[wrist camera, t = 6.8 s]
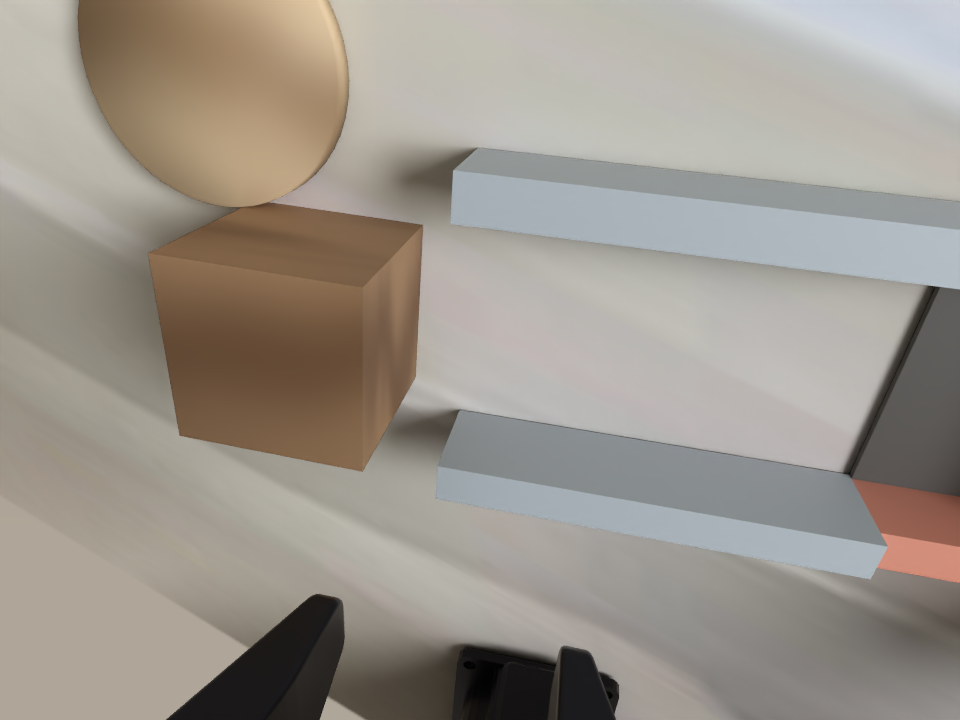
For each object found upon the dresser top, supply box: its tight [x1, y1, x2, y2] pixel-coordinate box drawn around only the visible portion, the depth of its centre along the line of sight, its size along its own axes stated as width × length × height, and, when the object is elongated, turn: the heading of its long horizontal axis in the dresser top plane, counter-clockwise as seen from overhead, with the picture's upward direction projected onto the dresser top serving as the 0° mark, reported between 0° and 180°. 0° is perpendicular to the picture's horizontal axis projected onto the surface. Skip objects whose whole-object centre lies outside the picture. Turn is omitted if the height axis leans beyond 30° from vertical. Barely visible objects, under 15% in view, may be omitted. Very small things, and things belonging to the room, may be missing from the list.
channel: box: [436, 148, 960, 579], centre depth 16 cm, size 9×12×3 cm
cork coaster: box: [78, 0, 349, 207], centre depth 16 cm, size 7×7×1 cm
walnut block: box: [148, 202, 423, 472], centre depth 17 cm, size 5×5×5 cm
